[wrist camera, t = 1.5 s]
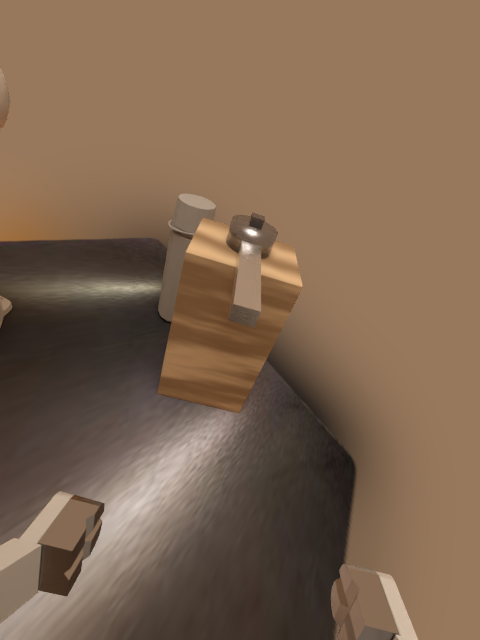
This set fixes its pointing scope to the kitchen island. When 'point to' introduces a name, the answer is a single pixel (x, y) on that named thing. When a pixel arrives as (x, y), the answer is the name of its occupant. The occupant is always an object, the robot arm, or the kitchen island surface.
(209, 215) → the water bottle
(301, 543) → the kitchen island surface
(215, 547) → the kitchen island surface
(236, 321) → the ratchet wrench
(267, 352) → the wooden block
